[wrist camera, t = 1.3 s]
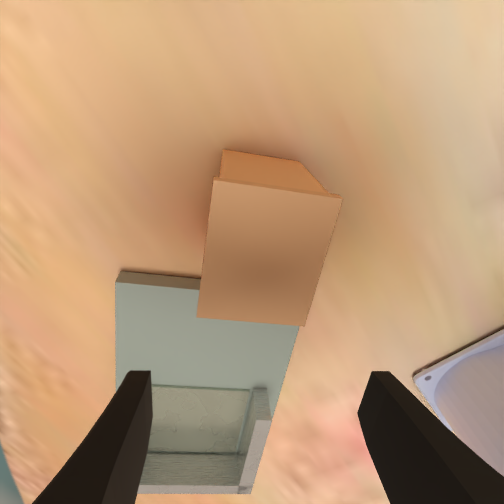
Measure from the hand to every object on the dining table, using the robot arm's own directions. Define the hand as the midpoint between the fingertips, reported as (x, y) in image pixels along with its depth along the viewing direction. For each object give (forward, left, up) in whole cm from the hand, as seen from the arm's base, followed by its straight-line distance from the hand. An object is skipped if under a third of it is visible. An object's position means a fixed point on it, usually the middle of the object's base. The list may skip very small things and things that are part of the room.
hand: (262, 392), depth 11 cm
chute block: (-2, -2, -10) cm, 10 cm away
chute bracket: (+10, +8, -9) cm, 16 cm away
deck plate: (+8, +6, -10) cm, 14 cm away
